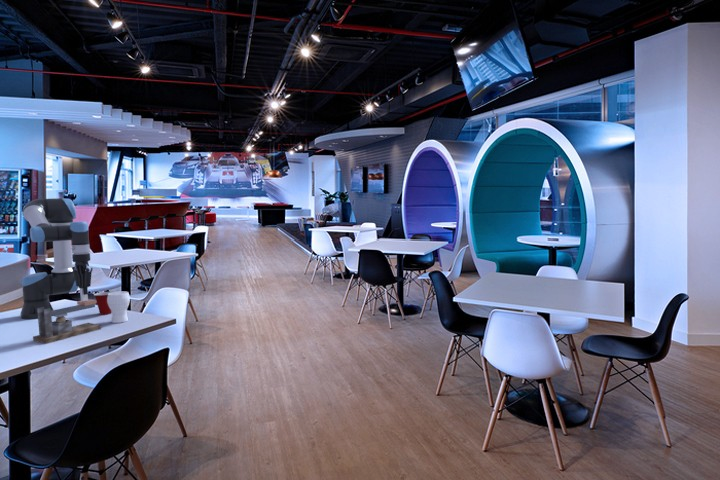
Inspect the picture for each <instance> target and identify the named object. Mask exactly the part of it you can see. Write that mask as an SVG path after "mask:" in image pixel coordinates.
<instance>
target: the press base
mask: <svg viewBox="0 0 720 480" xmlns="http://www.w3.org/2000/svg"><path fill="white" fill-rule="evenodd" d="M37 310H38V318H37V320H38V321H37V323H38V334H37V335H34V336H33V335H32V341H34V342H36V343H41V344H43V345H44V344H46V345H47V344H50V343H54V342H58V341H63V340H66V339H69V338H73V337H76V336H80V335H83V334H88V333H91V332H95V331H98V330H102V329H101V325H100V324H97V323H93V322H85V323H81V324H77V325H74V326H73V321H72V320H71V319H66V321H65V322H63V323H57V322H56V320H54V321H53V316H51V309H50V308H49V309H44V307H41V308H37ZM43 312H44V317H43Z"/></svg>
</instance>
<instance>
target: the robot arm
mask: <svg viewBox="0 0 720 480" xmlns="http://www.w3.org/2000/svg"><path fill="white" fill-rule="evenodd" d="M22 217H23V218H24V219H25V220H26V221H27V222H28V223H29V225H30V228H29V237H30V240H31V242H32V243H43V242H44V243H46V242H49V243H50V242H52V247H53V248H52V249H53V250H52V251H53V264H54V265H53V267H54V268H53V269H52V270H51V272H50V273H51V274H48V273H47V272H46V271H43V272H35V273H30V274H28V275H25V276H23V277H22V280H21V287H22V299H23V301H22V302H23V303H22V307H21V311H20V318H21V319H25V320H32V319H38V310H37V308H41V307H44V309H49V308H50V309H51V311H52V310H54V308H53V305H52V303H51V302H50V298H49V297H50V296H53V295H55V296H56V295H62V294H64V295H65V294H71V293H75V292H77V291H78V289H79V294H80V301H82V302H83V301H88V299H89V296H88V294H89V292H88V288H89V287H91V283H92V273H93V267H90V265H89V262H90V261H91V253H90V252H91V250H90V249H91V247H90V238H89V237H90V236H89V235H90V234H89V230H90V229H89V224H88V221H83V220H82V221H74V220H75V219H77V211H76V206H75V204H74V201H72V199H71V198H62V197H61V198H58V197H57V198H55V197H54V198H36V199H33V200H31V201H29V202H27V203H26V204H25V205H24V206H23V209H22ZM73 263H74V266H73Z"/></svg>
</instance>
